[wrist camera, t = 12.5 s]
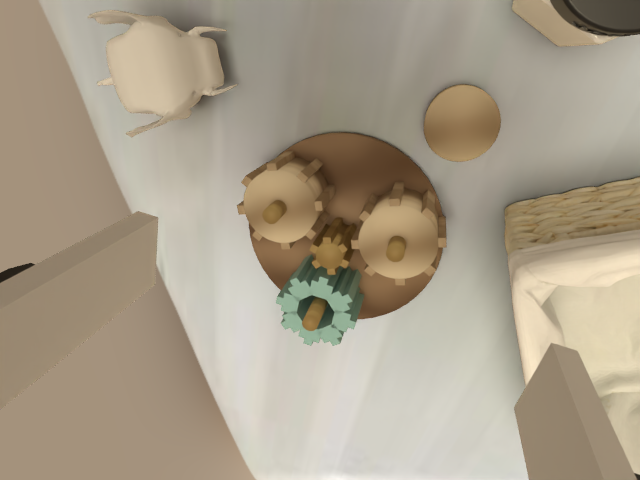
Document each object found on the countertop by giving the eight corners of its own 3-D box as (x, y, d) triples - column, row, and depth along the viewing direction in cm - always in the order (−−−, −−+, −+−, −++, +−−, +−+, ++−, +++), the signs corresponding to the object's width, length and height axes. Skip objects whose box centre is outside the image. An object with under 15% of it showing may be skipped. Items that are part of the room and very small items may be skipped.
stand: (423, 88, 36) (422, 91, 33) (496, 79, 34) (501, 82, 31) (426, 156, 38) (425, 164, 35) (495, 150, 36) (499, 158, 33)
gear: (299, 243, 43) (283, 265, 38) (373, 265, 42) (365, 291, 37) (286, 304, 46) (270, 331, 42) (354, 327, 45) (345, 357, 41)
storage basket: (712, 399, 40) (847, 570, 27) (522, 407, 45) (555, 553, 32) (710, 146, 32) (896, 210, 19) (482, 193, 38) (505, 268, 25)
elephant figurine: (257, 112, 40) (211, 127, 32) (148, 130, 43) (83, 147, 36) (232, -4, 37) (175, -19, 29) (116, 26, 40) (37, 19, 32)
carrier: (236, 142, 41) (193, 160, 34) (443, 121, 36) (443, 138, 29) (270, 312, 48) (240, 356, 41) (448, 316, 43) (449, 368, 36)
